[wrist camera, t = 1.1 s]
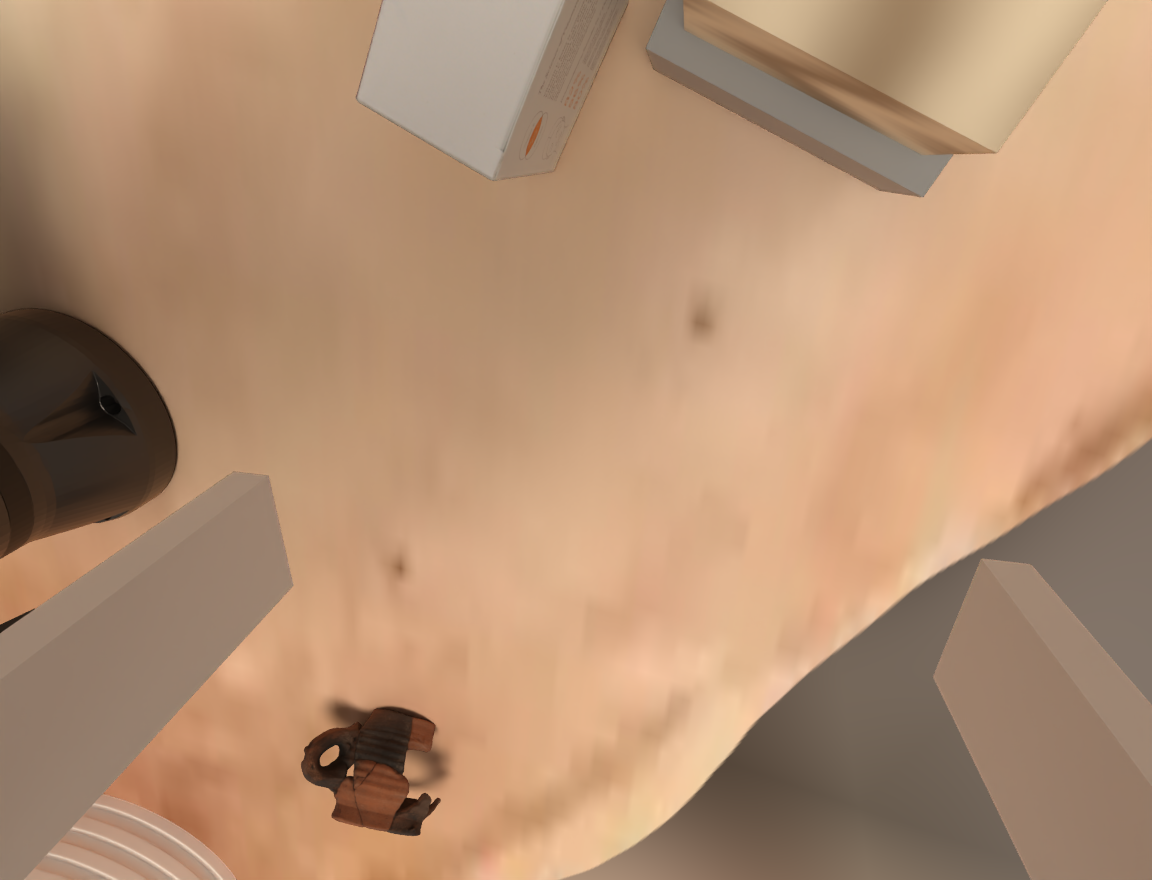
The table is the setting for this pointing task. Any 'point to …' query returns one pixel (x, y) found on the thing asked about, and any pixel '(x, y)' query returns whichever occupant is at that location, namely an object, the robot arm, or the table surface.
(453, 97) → the small box
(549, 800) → the table surface
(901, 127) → the block top
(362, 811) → the pottery mug
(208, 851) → the plate stack
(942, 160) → the block base
